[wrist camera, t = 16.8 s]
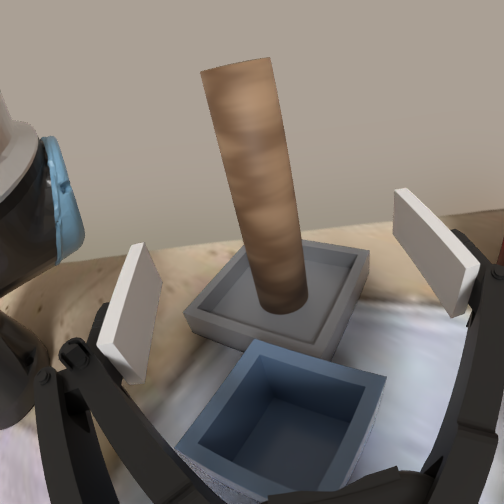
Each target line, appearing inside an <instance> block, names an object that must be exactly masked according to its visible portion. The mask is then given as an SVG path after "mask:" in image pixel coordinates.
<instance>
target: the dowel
mask: <svg viewBox="0 0 504 504" xmlns="http://www.w3.org/2000/svg"><path fill="white" fill-rule="evenodd" d="M200 74H201V78H202V82H203V86H204V90H205V94H206V98H207V102H208V105H209V110H210V113H211V117H212V121H213V125H214V129H215V133H216V137H217V141H218V145H219V149H220V153H221V156H222V160H223V164H224V168H225V172H226V176H227V180H228V184H229V187H230V191H231V195H232V199H233V203H234V207H235V210H236V215H237V219H238V222H239V226H240V230H241V234H242V238H243V242H244V245H245V249H246V253H247V257H248V261H249V265H250V268H251V272H252V276H253V280H254V284H255V288H256V291H257V295H258V299H259V303H260V305H261V307H262V308H263V309H264V310H265V311H267V312H269V313H271V314H276V315H284V314H290V313H293V312H295V311H297V310H299V309H300V308H301V307H303V306H304V305H305V303H306V302H307V300H308V286H307V278H306V270H305V262H304V254H303V247H302V239H301V232H300V225H299V218H298V211H297V205H296V198H295V192H294V186H293V179H292V173H291V167H290V161H289V155H288V149H287V143H286V138H285V132H284V126H283V121H282V115H281V110H280V105H279V99H278V94H277V89H276V84H275V79H274V74H273V69H272V64H271V60H270V57H267V58H260V59H254V60H248V61H243V62H238V63H233V64H229V65H224V66H220V67H216V68H212V69H208V70H204V71H201V72H200Z"/></svg>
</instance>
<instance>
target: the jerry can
mask: <svg viewBox="0 0 504 504" xmlns="http://www.w3.org/2000/svg"><path fill="white" fill-rule="evenodd" d="M497 265H501V266H504V239H503V243H502V246H501V250H500V254H499V257H498V261H497Z"/></svg>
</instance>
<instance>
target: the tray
mask: <svg viewBox="0 0 504 504" xmlns="http://www.w3.org/2000/svg"><path fill="white" fill-rule="evenodd" d="M302 247H303V254H304V262H305V270H306V278H307V286H308V300H307V302H306V303H305V305H304V306H303V307H301V308H300V309H299V310H297V311H295V312H293V313H290V314H284V315H276V314H271V313H269V312H267V311H265V310H264V309H263V308H262V307H261V305H260V303H259V299H258V295H257V291H256V288H255V284H254V280H253V276H252V272H251V268H250V265H249V261H248V257H247V253H246V249H245V245H243V246H242V247H241V248H240V250H239V251H238V252H237V253H236V254H235V255H234V256H233V257H232V258H231V260H230V261H229V262H228V263H227V264H226V265H225V266H224V267H223V268H222V269H221V271H220V272H219V273H218V274H217V275H216V276H215V277H214V278H213V279H212V281H211V282H210V283H209V284H208V285H207V286H206V287H205V288H204V289H203V290H202V292H201V293H200V294H199V295H198V296H197V297H196V298H195V299H194V301H193V302H192V303H191V304H190V305H189V306H188V307H187V308H186V309H185V311H184V312H183V314H184V316H185V318H186V320H187V322H188V324H189V326H190V328H191V330H192V332H193V333H195V334H198V335H200V336H203V337H205V338H208V339H210V340H213V341H215V342H218V343H221V344H223V345H226V346H228V347H231V348H234V349H236V350H239V351H242V352H245V351H246V350H247V348H248V347H249V345H250V344H251V343H252V341H253V340H254V339H257V340H260V341H263V342H266V343H270V344H273V345H276V346H279V347H282V348H285V349H288V350H292V351H295V352H298V353H301V354H305V355H308V356H312V357H315V358H318V359H322V360H325V361H329V362H330V361H331V359H332V357H333V355H334V353H335V351H336V348H337V346H338V344H339V342H340V340H341V338H342V335H343V333H344V331H345V329H346V326H347V324H348V322H349V320H350V317H351V315H352V313H353V310H354V308H355V306H356V303H357V301H358V299H359V296H360V294H361V291H362V289H363V286H364V284H365V281H366V279H367V276H368V274H369V256H370V251H369V250H363V249H357V248H351V247H345V246H339V245H333V244H327V243H320V242H314V241H308V240H302Z"/></svg>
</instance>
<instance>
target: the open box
mask: <svg viewBox="0 0 504 504" xmlns="http://www.w3.org/2000/svg"><path fill="white" fill-rule="evenodd" d="M386 379H387V377H386V376H382V375H378V374H374V373H370V372H366V371H362V370H358V369H354V368H351V367H347V366H343V365H340V364H336V363H332V362H329V361H325V360H322V359H318V358H315V357H312V356H308V355H305V354H301V353H298V352H295V351H292V350H288V349H285V348H282V347H279V346H276V345H273V344H270V343H266V342H263V341H260V340H257V339H254V340H253V341H252V343H251V344H250V345H249V347H248V348H247V350H246V351H245V353H244V354H243V355H242V357H241V358H240V360H239V361H238V363H237V364H236V365H235V367H234V368H233V370H232V371H231V372H230V374H229V375H228V377H227V378H226V379H225V381H224V382H223V383H222V385H221V386H220V388H219V389H218V390H217V392H216V393H215V394H214V396H213V397H212V399H211V400H210V401H209V403H208V404H207V405H206V407H205V408H204V409H203V411H202V412H201V413H200V415H199V416H198V417H197V419H196V420H195V421H194V423H193V424H192V425H191V427H190V428H189V429H188V431H187V432H186V433H185V435H184V436H183V437H182V439H181V440H180V441H179V442H178V444H177V445H176V446H175V449H176V450H177V451H178V452H180V453H181V454H182V455H183V456H184V457H186V458H187V459H188V460H189V461H191V462H192V463H193V464H195V465H196V466H197V467H198V468H200V469H201V470H202V471H204V472H205V473H206V474H208V475H209V476H210V477H212V478H213V479H215V480H217V481H219V482H221V483H222V484H224V485H226V486H228V487H230V488H232V489H234V490H236V491H238V492H240V493H242V494H244V495H246V496H248V497H250V498H252V499H254V500H256V501H258V502H260V503H262V502H265V501H267V500H268V496H267V495H275V494H282V493H288V492H295V491H337V490H339V489H341V488H343V487H345V486H346V485H347V483H348V481H349V479H350V477H351V475H352V472H353V470H354V468H355V466H356V464H357V462H358V460H359V457H360V455H361V453H362V451H363V449H364V446H365V444H366V442H367V439H368V437H369V434H370V432H371V430H372V427H373V425H374V422H375V419H376V415H377V412H378V409H379V405H380V402H381V398H382V394H383V391H384V387H385V383H386Z"/></svg>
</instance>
